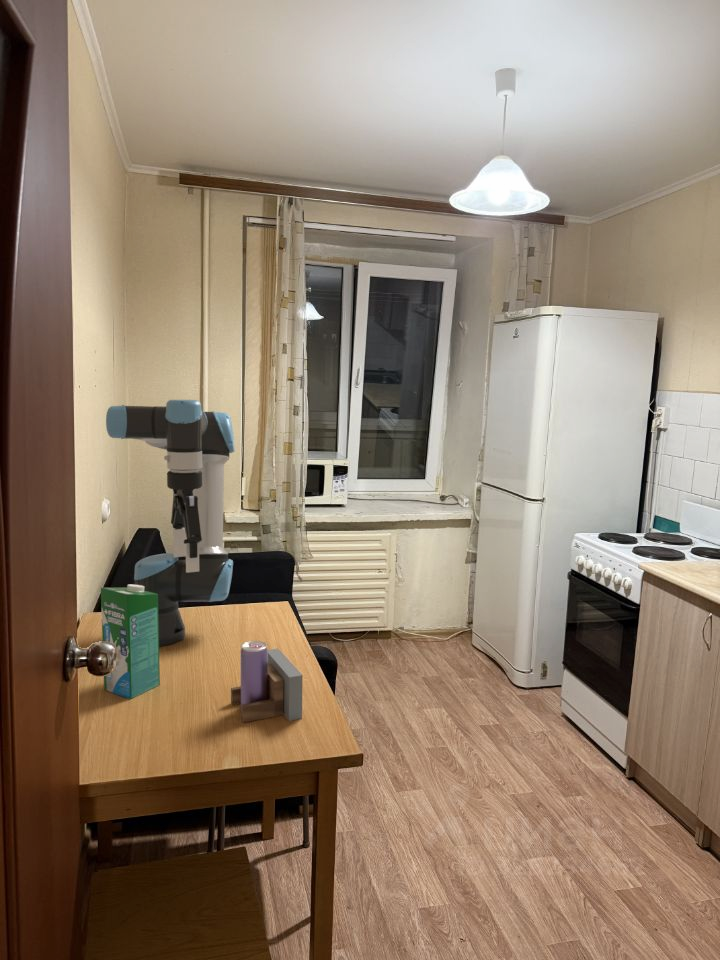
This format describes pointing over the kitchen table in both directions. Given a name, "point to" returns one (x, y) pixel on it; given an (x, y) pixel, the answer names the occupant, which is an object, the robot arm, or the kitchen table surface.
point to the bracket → (262, 707)
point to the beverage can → (254, 672)
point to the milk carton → (131, 639)
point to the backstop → (288, 684)
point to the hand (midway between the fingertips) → (186, 563)
